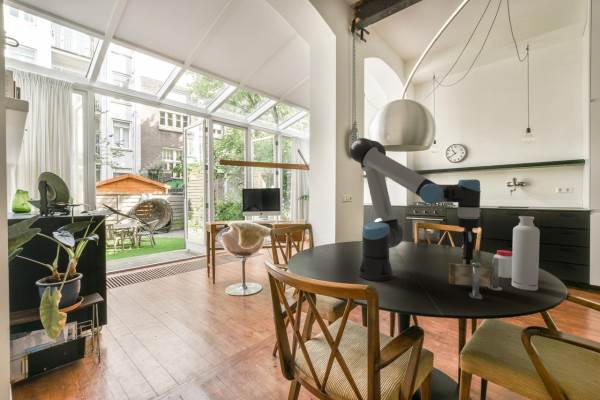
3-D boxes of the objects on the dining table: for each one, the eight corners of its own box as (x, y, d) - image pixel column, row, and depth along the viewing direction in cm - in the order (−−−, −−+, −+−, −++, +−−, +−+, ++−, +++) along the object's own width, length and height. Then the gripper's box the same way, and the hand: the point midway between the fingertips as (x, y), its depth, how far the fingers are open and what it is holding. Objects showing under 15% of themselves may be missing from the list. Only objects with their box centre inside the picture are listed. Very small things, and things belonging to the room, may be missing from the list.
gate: (489, 284, 107) (489, 264, 107) (492, 286, 105) (492, 266, 104) (448, 282, 110) (448, 262, 110) (450, 283, 108) (450, 264, 108)
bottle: (538, 292, 102) (541, 218, 101) (511, 287, 107) (513, 217, 106) (536, 286, 108) (539, 216, 107) (511, 281, 113) (513, 215, 112)
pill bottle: (507, 273, 125) (508, 249, 125) (519, 278, 118) (519, 253, 117) (489, 272, 126) (490, 249, 126) (500, 278, 119) (500, 253, 118)
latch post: (470, 297, 97) (471, 263, 97) (469, 294, 100) (469, 261, 100) (482, 299, 95) (483, 264, 95) (480, 295, 99) (481, 262, 98)
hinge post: (489, 289, 104) (489, 259, 104) (487, 286, 108) (487, 256, 108) (503, 291, 102) (503, 260, 102) (500, 287, 106) (501, 257, 106)
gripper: (482, 219, 102) (480, 281, 103) (476, 216, 113) (475, 271, 115) (459, 219, 105) (458, 278, 107) (456, 215, 117) (455, 269, 118)
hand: (467, 274), depth 111 cm, fingers closed
